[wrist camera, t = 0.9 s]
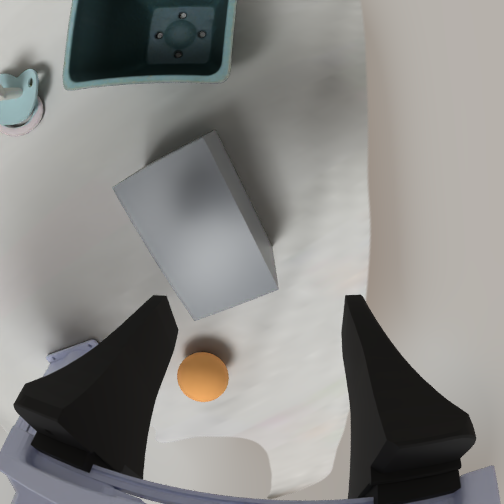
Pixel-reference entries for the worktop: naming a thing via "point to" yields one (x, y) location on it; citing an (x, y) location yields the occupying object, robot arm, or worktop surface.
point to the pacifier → (19, 103)
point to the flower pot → (148, 42)
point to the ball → (202, 376)
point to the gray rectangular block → (201, 227)
